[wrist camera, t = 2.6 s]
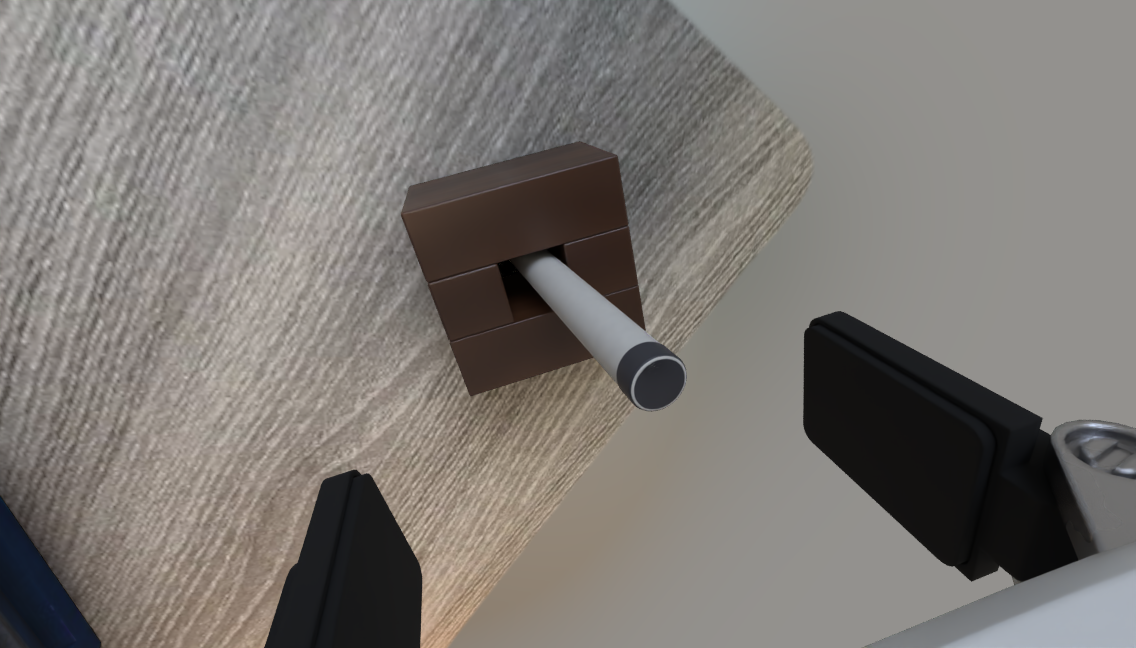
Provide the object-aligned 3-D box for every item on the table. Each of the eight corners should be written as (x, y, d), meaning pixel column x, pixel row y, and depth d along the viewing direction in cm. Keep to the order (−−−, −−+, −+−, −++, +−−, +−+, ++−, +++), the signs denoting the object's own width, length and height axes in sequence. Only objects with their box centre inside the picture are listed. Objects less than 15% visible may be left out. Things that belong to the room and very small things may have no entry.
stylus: (498, 236, 22) (625, 368, 10) (529, 226, 22) (684, 345, 11) (507, 266, 22) (635, 422, 11) (537, 256, 23) (691, 399, 11)
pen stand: (408, 186, 20) (399, 213, 16) (580, 140, 21) (618, 154, 16) (464, 339, 23) (470, 397, 19) (610, 295, 24) (647, 341, 20)
